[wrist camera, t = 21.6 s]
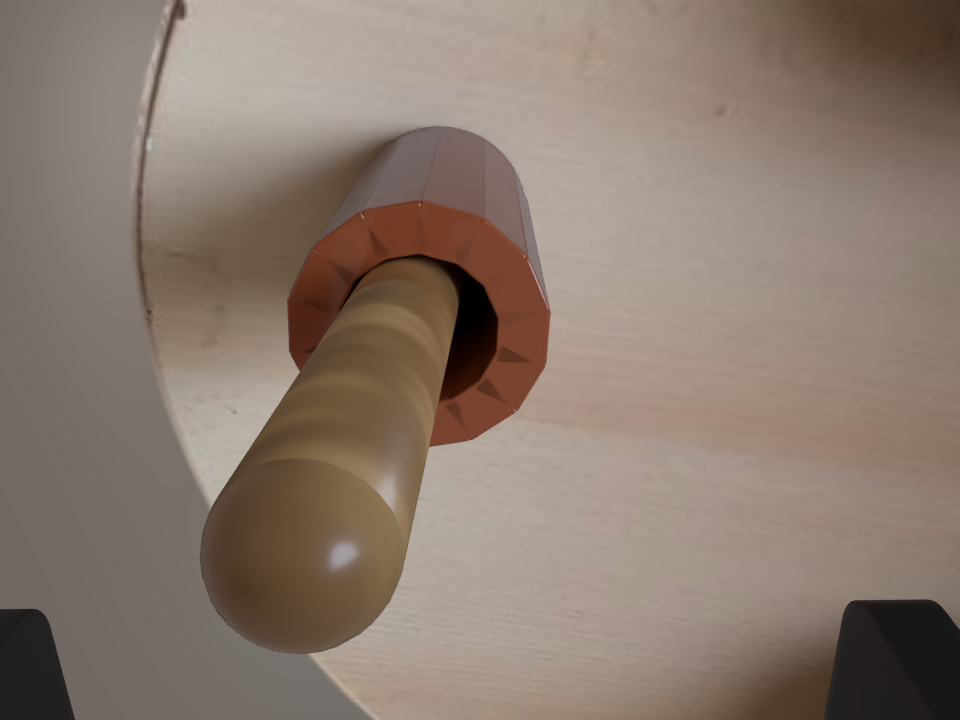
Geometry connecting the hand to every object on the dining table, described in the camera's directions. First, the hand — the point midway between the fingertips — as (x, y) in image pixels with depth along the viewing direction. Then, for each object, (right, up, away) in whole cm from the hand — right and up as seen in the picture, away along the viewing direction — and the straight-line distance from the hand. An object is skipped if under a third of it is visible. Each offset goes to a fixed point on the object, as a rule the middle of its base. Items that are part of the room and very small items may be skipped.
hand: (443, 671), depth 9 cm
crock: (-1, +8, +22) cm, 24 cm away
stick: (-1, +8, +22) cm, 23 cm away
